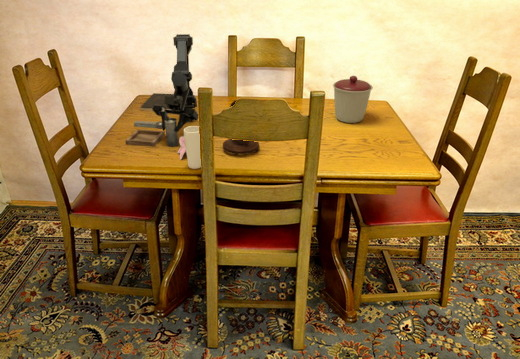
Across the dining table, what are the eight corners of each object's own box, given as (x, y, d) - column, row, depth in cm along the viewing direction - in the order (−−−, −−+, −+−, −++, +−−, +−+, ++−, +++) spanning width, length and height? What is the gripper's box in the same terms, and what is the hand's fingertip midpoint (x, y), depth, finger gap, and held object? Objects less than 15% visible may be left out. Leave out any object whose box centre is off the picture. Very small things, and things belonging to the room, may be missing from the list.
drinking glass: (201, 171, 168) (198, 133, 161) (183, 169, 169) (180, 131, 162) (206, 163, 174) (204, 126, 167) (189, 161, 175) (187, 125, 168)
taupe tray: (138, 134, 201) (137, 129, 200) (165, 136, 199) (164, 131, 198) (126, 145, 190) (125, 140, 189) (154, 147, 188) (153, 142, 187)
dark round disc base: (216, 147, 188) (214, 100, 178) (247, 140, 195) (247, 94, 185) (233, 160, 177) (232, 111, 167) (265, 152, 183) (266, 105, 174)
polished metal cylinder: (169, 142, 192) (167, 117, 187) (180, 142, 191) (178, 118, 186) (165, 146, 188) (163, 121, 183) (176, 147, 187) (174, 122, 182)
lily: (182, 149, 188) (170, 132, 182) (207, 140, 185) (196, 123, 179) (180, 169, 180) (167, 153, 174) (206, 160, 177) (194, 143, 171)
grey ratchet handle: (133, 127, 207) (133, 122, 206) (137, 124, 210) (136, 119, 209) (163, 129, 205) (162, 124, 204) (166, 126, 208) (165, 121, 207)
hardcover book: (140, 111, 227) (139, 106, 226) (153, 97, 248) (153, 93, 246) (171, 112, 226) (171, 108, 225) (182, 98, 246) (182, 94, 245)
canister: (366, 128, 208) (371, 83, 198) (326, 123, 213) (330, 79, 203) (370, 115, 223) (375, 72, 213) (333, 111, 228) (337, 69, 218)
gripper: (151, 85, 184) (140, 120, 180) (193, 89, 180) (183, 125, 175) (162, 98, 195) (152, 131, 191) (202, 102, 190) (193, 136, 186)
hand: (169, 131), depth 185 cm, fingers open, 6 cm apart
